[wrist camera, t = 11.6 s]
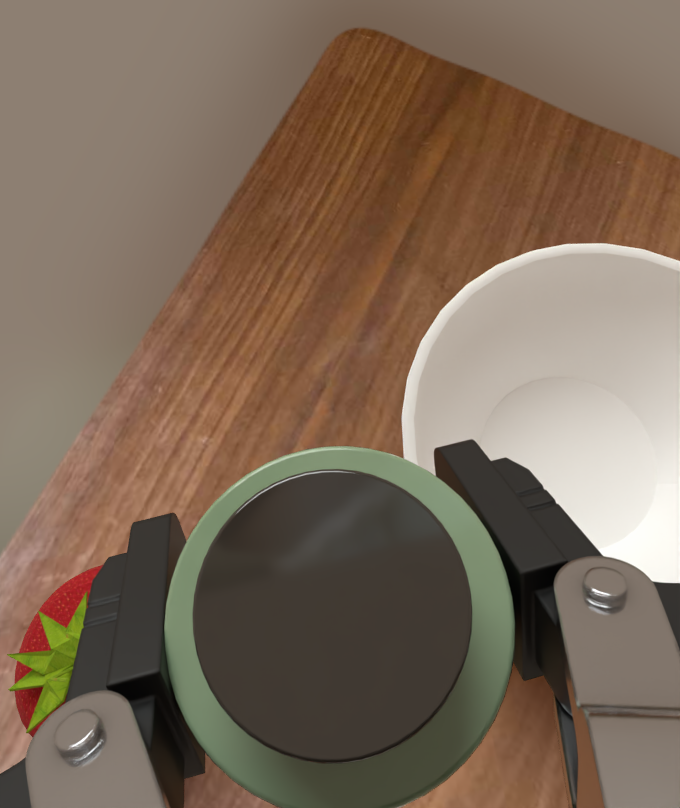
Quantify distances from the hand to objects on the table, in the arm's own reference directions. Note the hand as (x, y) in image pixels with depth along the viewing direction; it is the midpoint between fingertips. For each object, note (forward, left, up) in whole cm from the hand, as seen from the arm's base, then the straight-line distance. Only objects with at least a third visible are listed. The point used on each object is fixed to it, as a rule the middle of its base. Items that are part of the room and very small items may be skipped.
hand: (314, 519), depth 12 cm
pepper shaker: (+1, -2, -5) cm, 6 cm away
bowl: (+13, +7, -22) cm, 26 cm away
